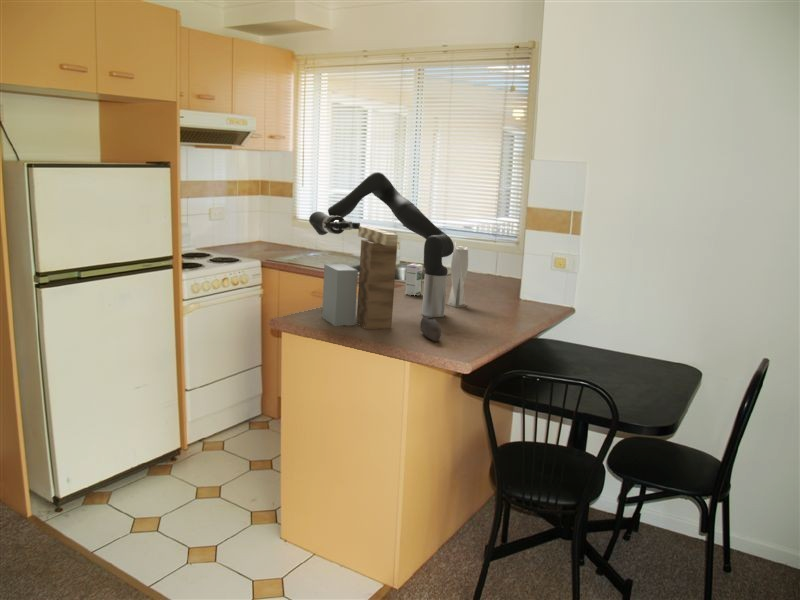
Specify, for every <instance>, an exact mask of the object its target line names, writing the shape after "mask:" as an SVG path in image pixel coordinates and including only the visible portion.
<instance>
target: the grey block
mask: <svg viewBox="0 0 800 600" xmlns="http://www.w3.org/2000/svg"><path fill="white" fill-rule="evenodd" d="M323 265H324V266H323V267H324V269H323V286H322V287H323V288H322V307H321V308H322V309H321V315H322V316H321V318H322V319H324V320H325V319H326V320H325V321H326V322H328V323H330V324H331V325H333V326H334V327H342V326H343V325H346V326H355V324H356V323H355V322H356V313H357V312H356V311H357V295H358V290H357V289H358V277H359V274H358V273H359V270H358V269H356V268H355V267H352V266H350V265H347V264H345V263H324V264H323ZM341 325H342V326H341ZM343 327H344V326H343Z"/></svg>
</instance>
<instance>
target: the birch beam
mask: <svg viewBox="0 0 800 600" xmlns="http://www.w3.org/2000/svg"><path fill="white" fill-rule="evenodd" d="M357 233H358V234H357V236H358V237H359V238H362V239H364V240H371V241H374V242H377V243H380V244H383V245H386V246H397V247H398V237H399V236H398V234H397V233H392V232H390V231H387V230H383V229H380V228H377V227H373V226H369V225H360V226H359V229H358V232H357Z"/></svg>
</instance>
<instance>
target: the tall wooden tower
mask: <svg viewBox="0 0 800 600" xmlns="http://www.w3.org/2000/svg"><path fill="white" fill-rule="evenodd" d="M397 249H398V245H397V246H386V245H383V244H380V243H377V242H374V241H371V240H368V239H361V241H360V254H359V255H360V256H359V271H358V273H359V274H358V288H357V289H358V290H357V306H356V311H357V312H356V324H358V325H359V324H360V325H359V326H361V327H362V326H363V327H362V328H364V327H365V328H364V329H366V330H379V328H384V329H391V328H392V324H393V323H392V322H393V309H394V296H395V294H394V293H395V280H396V279H395V278H396V266H397Z"/></svg>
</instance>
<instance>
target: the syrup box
mask: <svg viewBox="0 0 800 600" xmlns="http://www.w3.org/2000/svg"><path fill="white" fill-rule="evenodd" d="M423 268H424V264H419V263H410V264H406V271H405V273H406V275H405V291H404V293H405V294H404V295H406V294H408V295H407V296H411V295H414V296H413V297H416V296H415V295H417V296H421V295H422V290H423V289H422V287H423V285H422V284H423V270H424V269H423ZM420 294H421V295H420Z"/></svg>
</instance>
